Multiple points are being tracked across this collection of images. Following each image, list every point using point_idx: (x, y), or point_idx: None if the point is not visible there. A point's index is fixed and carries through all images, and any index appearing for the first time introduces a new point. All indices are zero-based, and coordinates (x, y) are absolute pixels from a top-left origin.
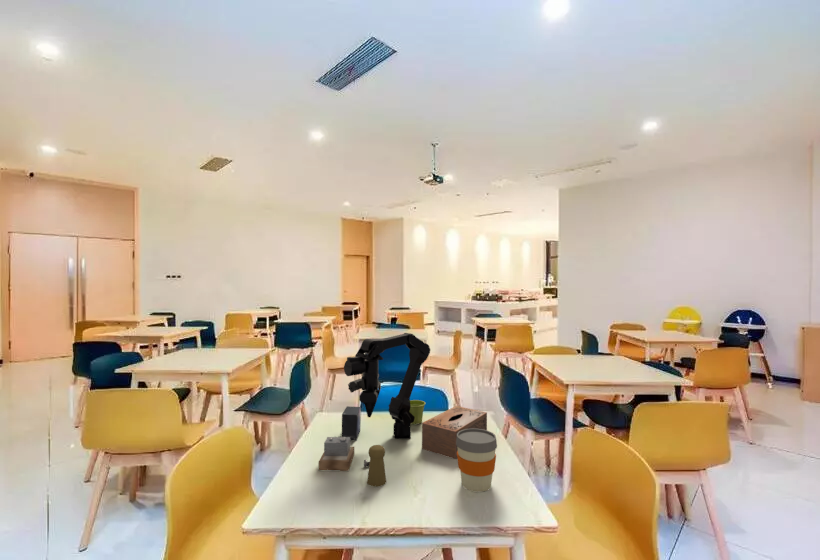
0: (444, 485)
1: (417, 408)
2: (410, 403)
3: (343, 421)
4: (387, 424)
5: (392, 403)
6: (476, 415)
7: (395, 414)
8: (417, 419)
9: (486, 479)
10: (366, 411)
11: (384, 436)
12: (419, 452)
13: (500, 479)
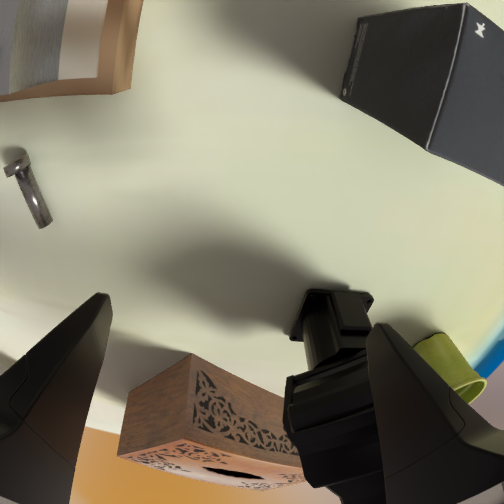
0: (8, 341)
1: None
2: (477, 381)
3: (419, 16)
4: (465, 269)
5: (376, 433)
6: (243, 485)
7: (314, 396)
8: None
9: None
10: (47, 335)
11: (353, 250)
12: (162, 343)
13: None
